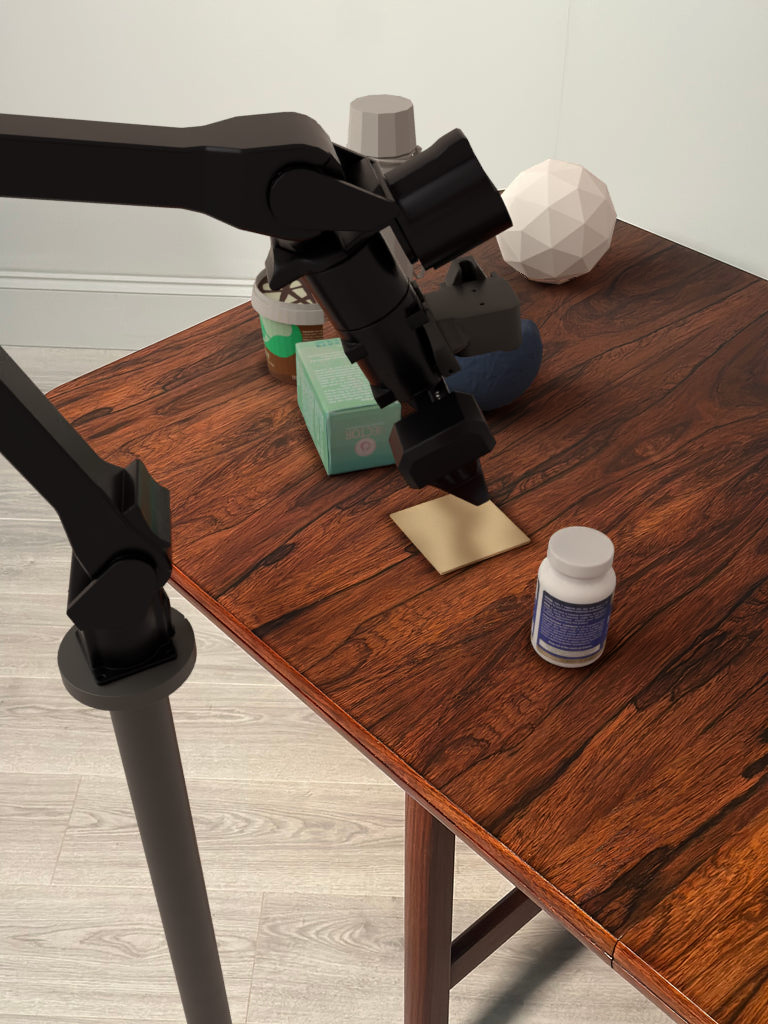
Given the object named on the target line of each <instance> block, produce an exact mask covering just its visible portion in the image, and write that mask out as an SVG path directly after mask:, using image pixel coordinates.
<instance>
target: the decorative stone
mask: <svg viewBox="0 0 768 1024" xmlns="http://www.w3.org/2000/svg"><path fill="white" fill-rule="evenodd" d="M521 332H522V345H521V346H520V347H519V348H517V349H515V350H512V351H508V352H504V351H502V350H500V351H495V352H491V353H486V354H481V355H476V356H472V357H457V356H455V357H456V359H457V361H458V363H459V365H460V367H461V369H462V370H460V371H459V372H457V373H455V374H453V375H451V376H449V377H448V378H444V379H445V382H446V384H447V386H448V389H449V391H450V393H451V392H453V391H457V392H463V393H468V394H472V395H473V396H474V398H475V400H476V402H477V403H478V405H479V407H480V409H481V411H482V412H483V411H485V412H487V411H489V412H490V411H491V410H497V409H500V408H503V407H505V406H507V405H509V404H511V403H512V402H515V401H516V400H517V399H519V397H521V396H522V395H523V394H525V392H527V391H528V390H529V388H530V387H531V385H533V383H534V381H535V380H536V378H537V376H538V375H539V371H540V370H541V364H542V362H543V357H544V355H543V354H544V344H543V341H542V336H541V331H540V329H539V328H538V325H537V324H536V322H535V321H533V320H532V319H528V318H527V319H526V318H521Z"/></svg>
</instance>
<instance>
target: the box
mask: <svg viewBox="0 0 768 1024" xmlns="http://www.w3.org/2000/svg"><path fill="white" fill-rule="evenodd" d="M296 372H297V385H296V397H297V398H296V399H297V400H296V401H297V405H298V407H299V409H300V413H301V415H302V418H303V420H304V422H305V425H306V428H307V430H308V432H309V434H310V437H311V439H312V441H313V444H314V446H315V448H316V451H317V452H318V455H319V457H320V459H321V462H322V465H323V467H324V469H325V472H326V474H327V476H334V475H341V474H345V473H346V474H347V473H351V472H356V471H361V470H362V471H363V470H367V469H373V468H379V467H386V466H391V465H396V463H395V459H394V456H393V453H392V450H391V447H390V444H389V440H388V439H389V436H390V433H391V431H392V428H393V425H394V423H395V422H397V421H399V420H401V419H402V403H399V402H398V400H397V401H395V402H394V403H392V404H390V405H388V406H386V407H384V408H383V409H380V407H379V406H378V404H377V402H376V401H375V399H374V397H373V394H372V391H371V387H370V384H369V381H368V380H367V378H366V377H365V375H364V374H363V372H362V371H361V369H360V367H359V366H358V364H357V363H356V362H355V363H354V364H351V362H350V361H349V359H348V358H347V356H346V355H345V353H344V350H343V346H342V343H341V340H340V337H334V338H333V337H332V338H327V339H324V338H323V340H316V341H308V342H299V343H296Z"/></svg>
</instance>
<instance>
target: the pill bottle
mask: <svg viewBox="0 0 768 1024" xmlns="http://www.w3.org/2000/svg"><path fill="white" fill-rule="evenodd" d="M547 545H548V546H547V551H546V557H544V558H543V560H542V561H541V562H540V565H539V567H538V570H537V579H536V586H535V587H536V588H535V594H534V595H535V596H534V602H533V603H534V604H533V611H532V620H531V629H530V641H531V645H532V647H533V649H534V650H535V652H536V653H537V654H538V655H539V657H541V658H542V659H543V660H544V661H546V662H548V663H550V664H552V665H555V666H558V667H561V668H567V669H568V668H571V669H572V668H573V669H574V668H581V667H585V666H588V665H590V664H593V663H595V662H596V661H597V660H598V659H599V658H600V657H601V656H602V654H603V652H604V650H605V647H606V642H607V638H608V632H609V625H610V622H611V621H610V620H611V614H612V609H613V604H614V596H615V594H616V593H615V592H616V586H617V577H616V572H615V570H614V567H613V563H614V556H615V546H614V543H613V541H612V540H611V539H610V538H609V536H607V535H606V534H605V533H603V532H601V531H600V530H597V529H595V528H592V527H587V526H579V525H577V526H574V525H573V526H567V527H563V528H561V529H559V530H557V531H555V532H554V533H553V534H552V535H551V536H550V538H549V540H548V544H547Z"/></svg>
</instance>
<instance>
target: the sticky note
mask: <svg viewBox="0 0 768 1024" xmlns="http://www.w3.org/2000/svg"><path fill="white" fill-rule="evenodd" d="M389 517H390V519H391V520H392V521H393V522H394V523H395V524H396V526H397V527H399V529H400V530H401V531H402V532H403V533H404V535H405V536H406V537H407V538H408V539H409V540H410V542H411V543H412V544H413V545H414V547H416V548H417V549H418V551H419V552H420V553H421V554H422V555H423V556H424V558H425V559H426V560H427V561H428V562H429V563H430V564H431V565H432V567H433V568H434V569H435V570H436V571H437V573H438V574H440V576H444V575H445V574H449V573H451V572H454V571H457V570H460V569H462V568H465V567H467V566H470V565H473V564H477V563H478V562H481V561H484V560H486V559H490V558H492V557H495V556H497V555H500V554H503V553H506V552H508V551H511V550H514V549H517V548H520V547H522V546H525V545H528V544H530V543H531V542H532V541H531V538H529V537H528V536H527V535H526V534H525V533H524V532H523V531H522V530H521V529H520V528H519V527H518V526H517V525H516V524H515V523H514V522H513V521H512V520H511V519H510V518H509V517H508V516H507V515H506V514H505V513H504V512H503V511H502V510H501V509H500V508H499V507H498V506H497V505H495V503H494V502H492V501H491V499H490V500H489V501H488V502H486V503H484V504H482V505H480V506H475V505H473V504H471V503H468V502H466V501H464V500H462V499H460V498H458V497H456V496H453V495H451V494H449V493H448V494H446V495H444V496H443V495H442V496H441V497H438V498H434V499H431V500H429V501H426V502H422V503H420V504H417V505H414V506H413V505H412V506H411V507H407V508H405V509H402V510H399V511H396V512H393V513H390V514H389Z"/></svg>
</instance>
